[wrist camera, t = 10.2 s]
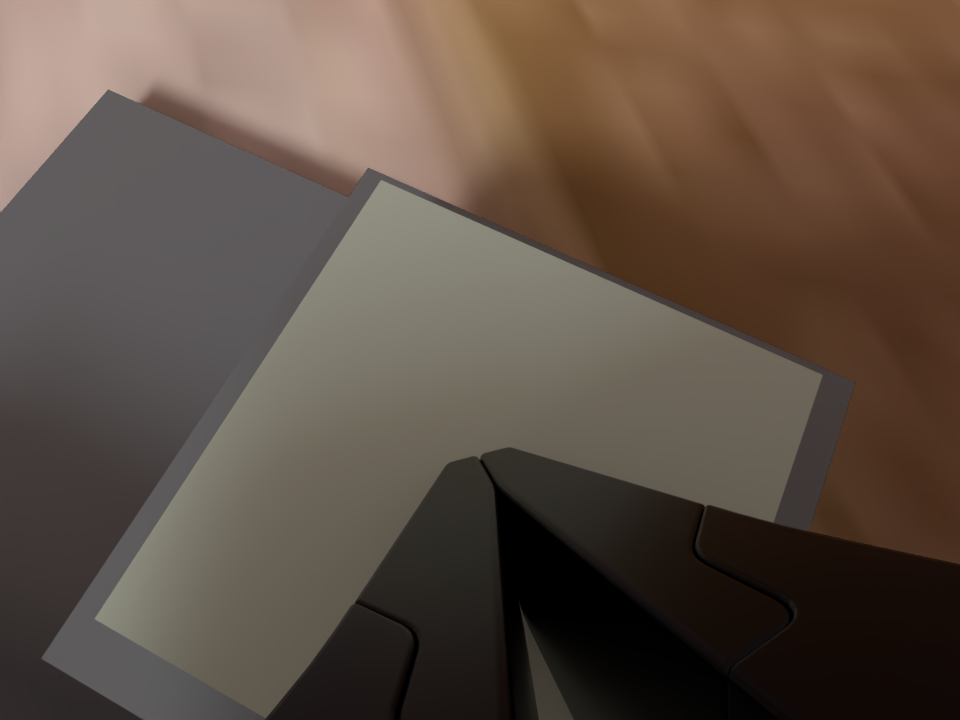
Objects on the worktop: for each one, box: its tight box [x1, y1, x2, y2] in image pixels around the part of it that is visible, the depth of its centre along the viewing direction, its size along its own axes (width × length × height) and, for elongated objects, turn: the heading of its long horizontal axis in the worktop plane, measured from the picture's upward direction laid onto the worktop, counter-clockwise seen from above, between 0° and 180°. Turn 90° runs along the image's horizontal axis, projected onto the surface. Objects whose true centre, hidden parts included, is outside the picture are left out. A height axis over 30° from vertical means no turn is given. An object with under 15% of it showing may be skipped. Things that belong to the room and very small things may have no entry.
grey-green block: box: [95, 180, 823, 720], centre depth 11 cm, size 7×7×6 cm
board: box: [0, 90, 856, 720], centre depth 12 cm, size 20×23×5 cm
